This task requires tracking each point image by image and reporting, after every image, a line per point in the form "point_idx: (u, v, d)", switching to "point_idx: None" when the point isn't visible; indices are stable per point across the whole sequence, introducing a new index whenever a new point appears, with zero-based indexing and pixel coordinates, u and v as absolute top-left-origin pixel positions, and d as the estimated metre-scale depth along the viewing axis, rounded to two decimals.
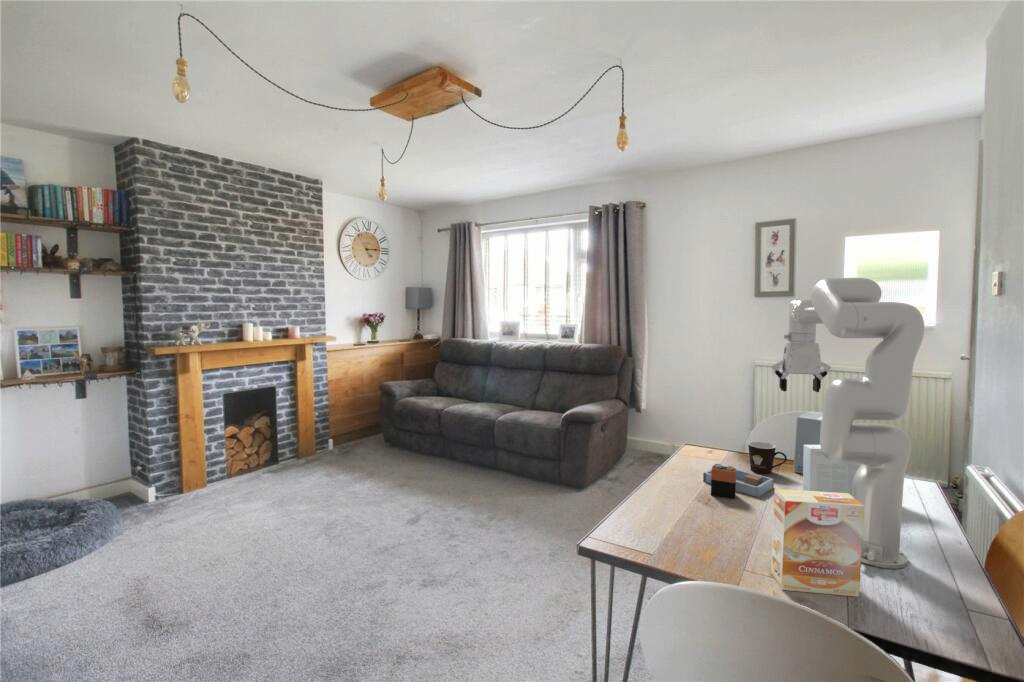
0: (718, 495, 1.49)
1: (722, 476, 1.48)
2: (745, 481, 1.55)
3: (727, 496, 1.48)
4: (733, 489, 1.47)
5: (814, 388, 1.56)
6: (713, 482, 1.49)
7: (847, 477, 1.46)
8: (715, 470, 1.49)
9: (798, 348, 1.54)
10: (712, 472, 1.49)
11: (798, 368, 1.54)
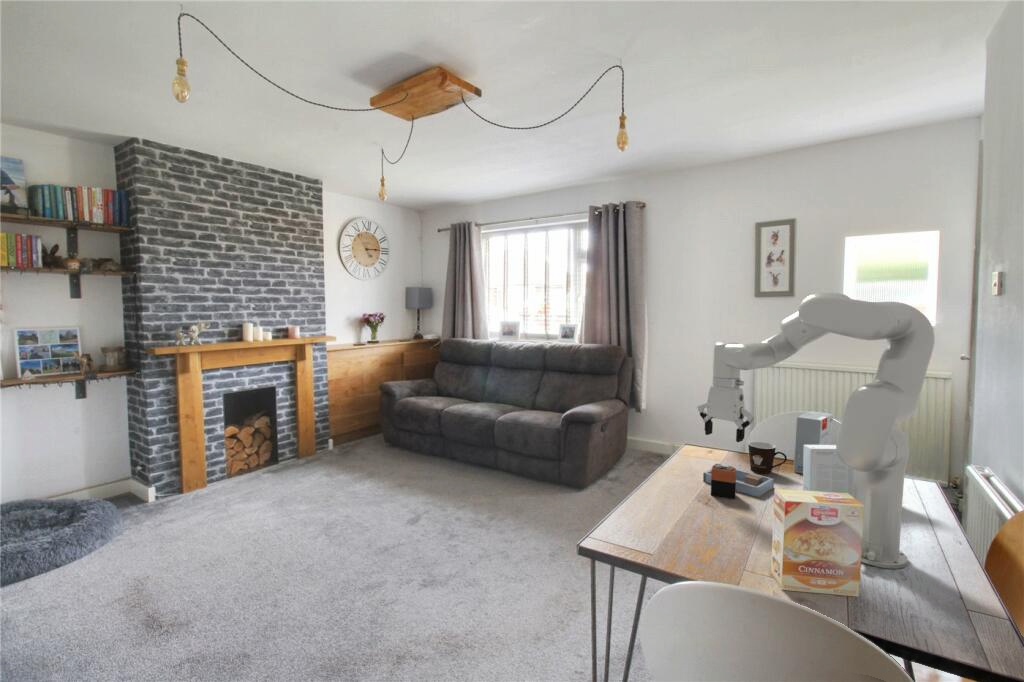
0: (718, 495, 1.49)
1: (722, 476, 1.48)
2: (745, 481, 1.55)
3: (727, 496, 1.48)
4: (733, 489, 1.47)
5: (709, 431, 1.52)
6: (713, 482, 1.49)
7: (847, 477, 1.46)
8: (715, 470, 1.49)
9: None
10: (712, 472, 1.49)
11: None
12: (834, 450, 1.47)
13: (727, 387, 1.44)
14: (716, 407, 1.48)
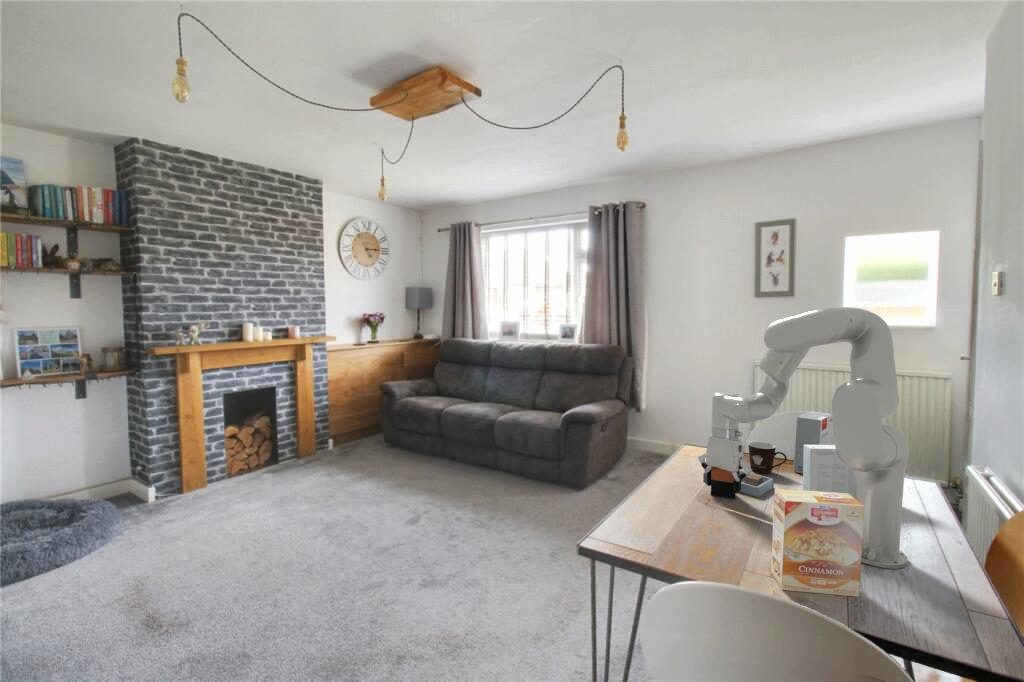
0: (718, 495, 1.49)
1: (722, 476, 1.48)
2: (745, 481, 1.55)
3: (727, 496, 1.48)
4: None
5: None
6: (713, 482, 1.49)
7: (847, 477, 1.46)
8: (715, 470, 1.49)
9: None
10: (712, 472, 1.49)
11: None
12: (834, 450, 1.47)
13: (726, 438, 1.45)
14: (715, 457, 1.49)
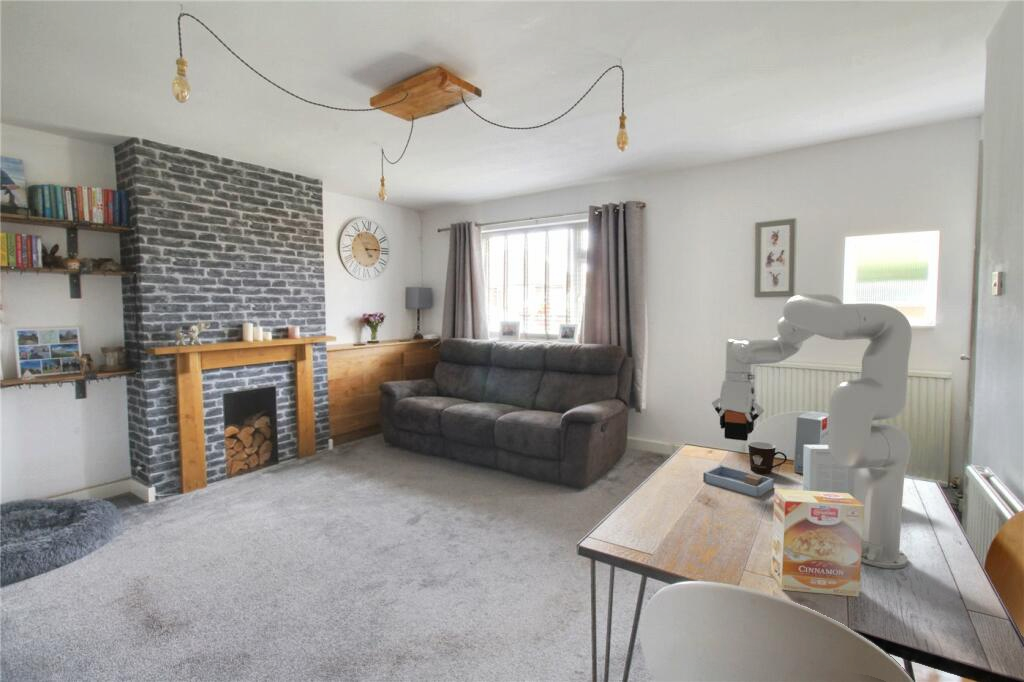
0: (731, 436, 1.57)
1: (735, 418, 1.56)
2: (745, 481, 1.55)
3: (740, 436, 1.56)
4: None
5: (724, 425, 1.61)
6: (727, 424, 1.57)
7: (847, 477, 1.46)
8: (729, 412, 1.57)
9: None
10: (726, 414, 1.57)
11: None
12: None
13: (739, 381, 1.53)
14: (729, 400, 1.57)
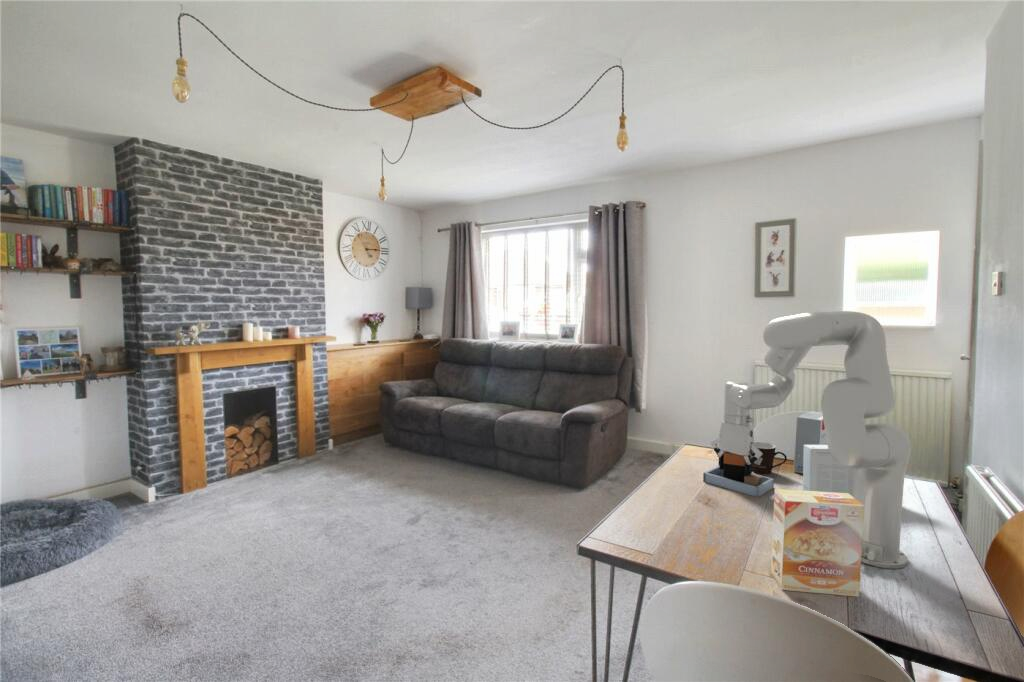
0: (730, 478, 1.58)
1: (734, 460, 1.57)
2: (745, 481, 1.55)
3: (739, 479, 1.57)
4: (744, 472, 1.56)
5: None
6: (726, 466, 1.58)
7: (847, 477, 1.46)
8: (727, 454, 1.58)
9: None
10: (724, 456, 1.58)
11: None
12: None
13: (738, 424, 1.54)
14: (727, 442, 1.58)
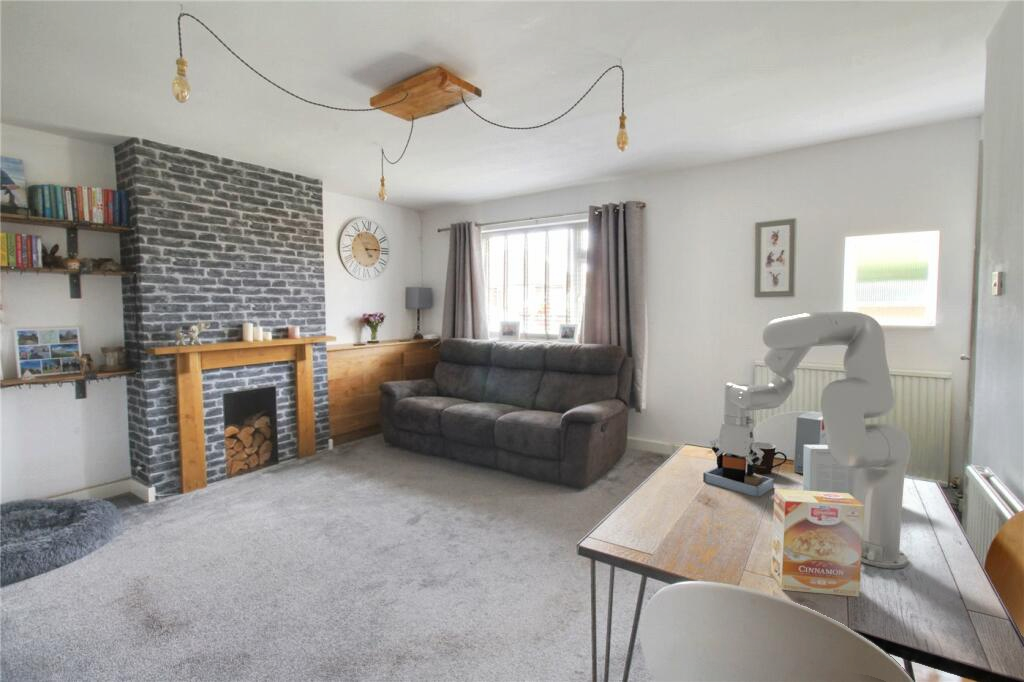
0: None
1: (733, 463, 1.57)
2: (745, 481, 1.55)
3: None
4: (743, 476, 1.56)
5: (721, 465, 1.62)
6: (725, 469, 1.59)
7: (847, 477, 1.46)
8: (726, 458, 1.58)
9: None
10: (723, 460, 1.59)
11: None
12: None
13: (738, 425, 1.54)
14: (727, 443, 1.58)
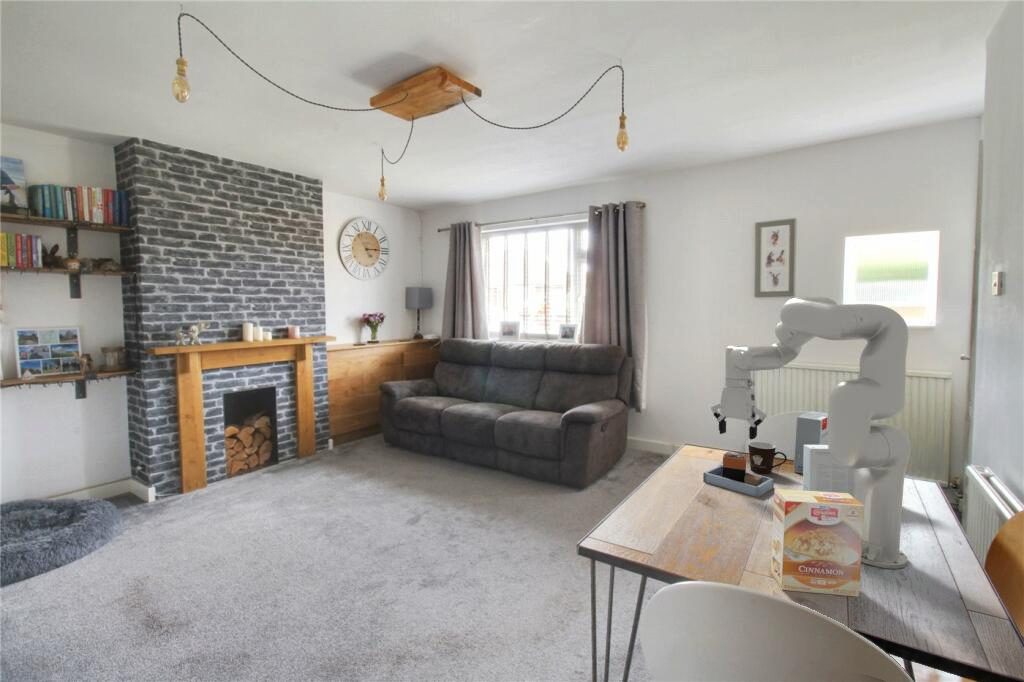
0: None
1: (733, 463, 1.57)
2: (745, 481, 1.55)
3: None
4: (743, 476, 1.56)
5: (723, 430, 1.61)
6: (725, 469, 1.59)
7: (847, 477, 1.46)
8: (726, 458, 1.58)
9: None
10: (723, 460, 1.59)
11: None
12: None
13: (739, 387, 1.53)
14: (729, 407, 1.57)
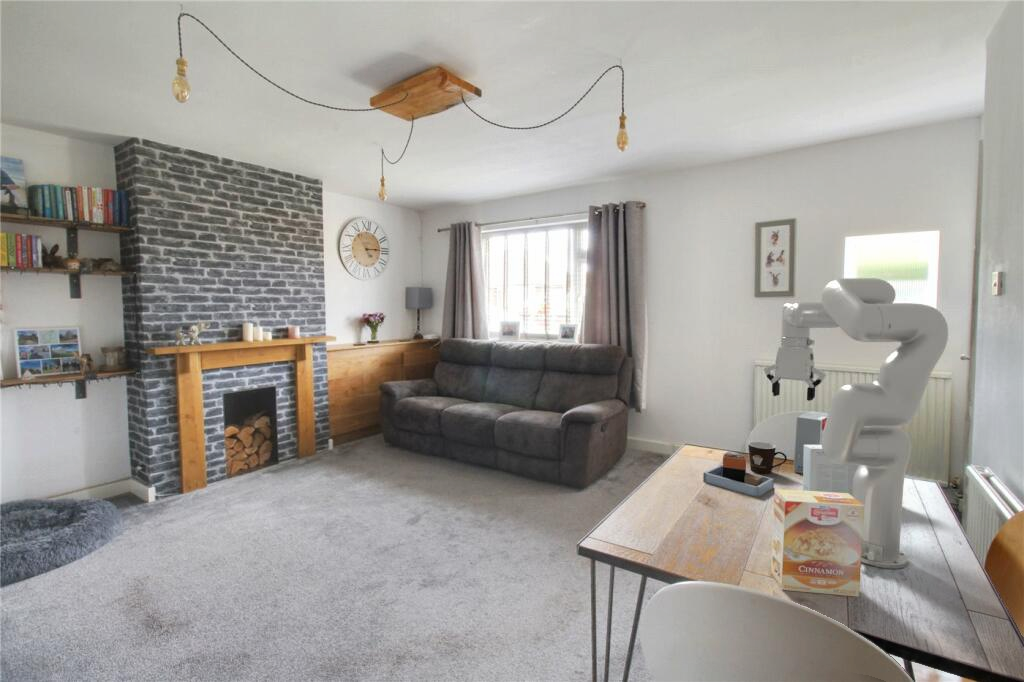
0: None
1: (733, 463, 1.57)
2: (745, 481, 1.55)
3: None
4: (743, 476, 1.56)
5: (777, 392, 1.54)
6: (725, 469, 1.59)
7: (847, 477, 1.46)
8: (726, 458, 1.58)
9: None
10: (723, 460, 1.59)
11: None
12: None
13: (798, 346, 1.46)
14: (785, 367, 1.50)
